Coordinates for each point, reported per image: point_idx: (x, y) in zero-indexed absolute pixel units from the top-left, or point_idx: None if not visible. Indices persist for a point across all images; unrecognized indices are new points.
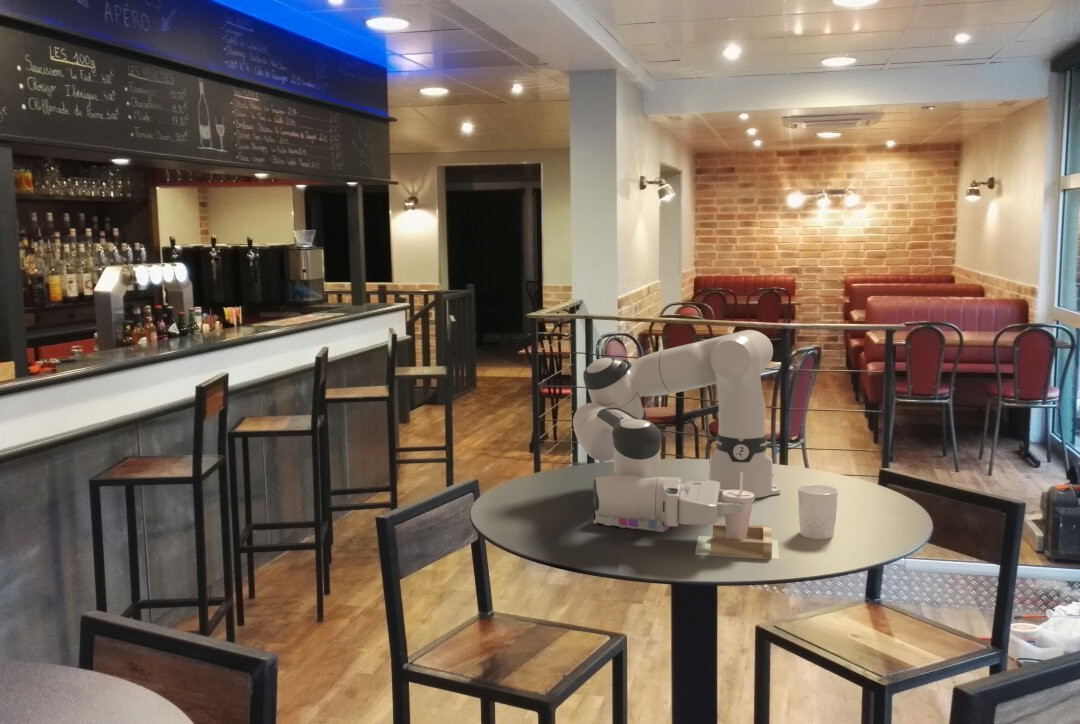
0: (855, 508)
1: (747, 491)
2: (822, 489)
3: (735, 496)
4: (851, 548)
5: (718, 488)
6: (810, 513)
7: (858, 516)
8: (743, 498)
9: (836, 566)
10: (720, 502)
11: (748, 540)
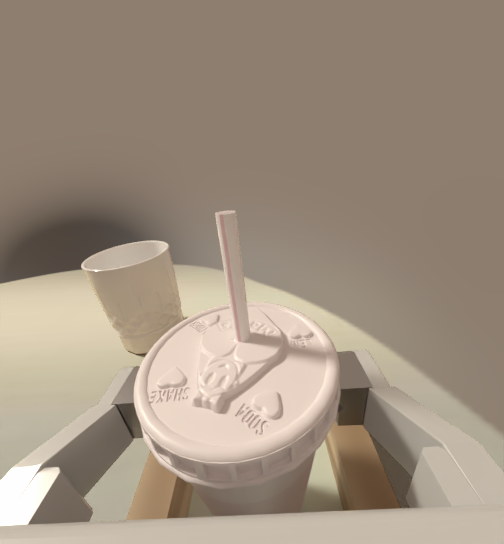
0: (35, 304)
1: (185, 323)
2: (103, 260)
3: (296, 360)
4: (220, 299)
5: (15, 532)
6: (167, 295)
7: (75, 300)
8: (319, 326)
9: (311, 307)
10: (445, 481)
11: (347, 425)
